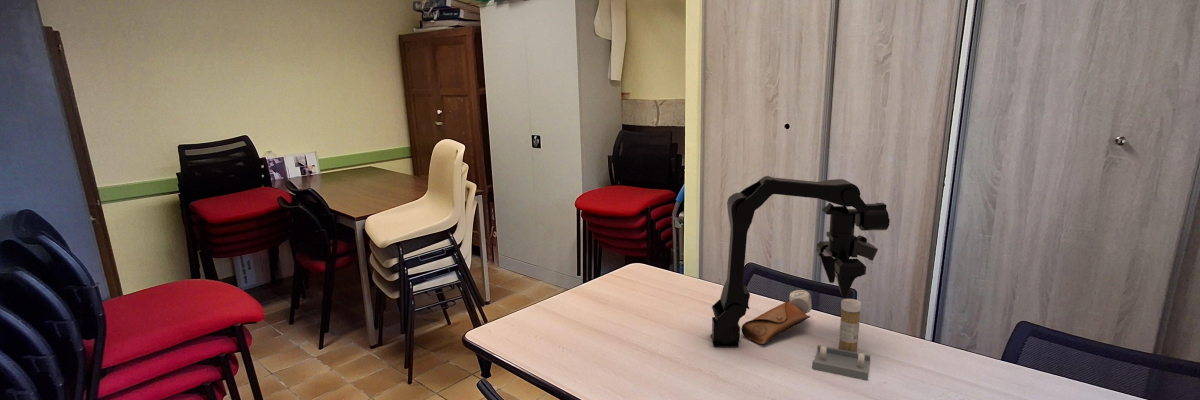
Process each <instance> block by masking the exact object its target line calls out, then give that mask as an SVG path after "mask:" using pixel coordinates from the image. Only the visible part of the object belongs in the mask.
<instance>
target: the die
mask: <svg viewBox="0 0 1200 400" xmlns="http://www.w3.org/2000/svg"><path fill="white" fill-rule="evenodd" d="M788 300H789V302H790V303H791V304H793V305H795V306H796V307H798V308H799V309H800V310H801V311H802V312H804V313H805V314H808V313H810V312H811V310H812V297H811V294H810V293H809V292H808V290H807V291H806V290H804V289H803V290H802V289H797V290H794V291H791V292H790V294H789V299H788Z"/></svg>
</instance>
